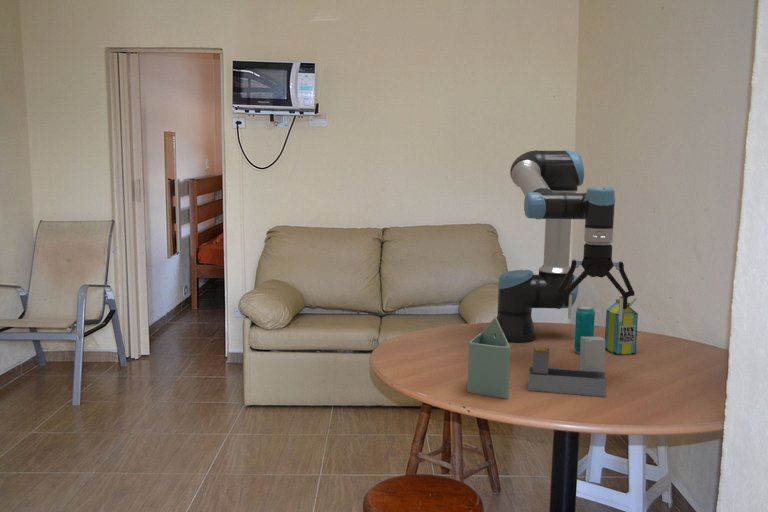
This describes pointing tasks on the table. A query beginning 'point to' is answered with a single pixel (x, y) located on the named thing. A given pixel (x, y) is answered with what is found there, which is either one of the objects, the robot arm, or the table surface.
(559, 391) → the rail
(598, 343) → the skincare box
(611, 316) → the carton
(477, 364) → the planter
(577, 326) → the beverage can
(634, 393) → the table surface
